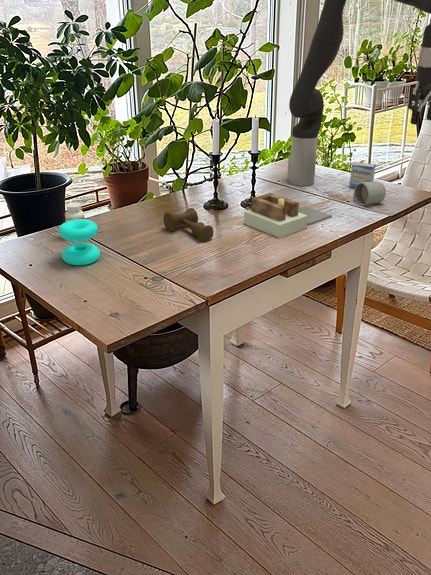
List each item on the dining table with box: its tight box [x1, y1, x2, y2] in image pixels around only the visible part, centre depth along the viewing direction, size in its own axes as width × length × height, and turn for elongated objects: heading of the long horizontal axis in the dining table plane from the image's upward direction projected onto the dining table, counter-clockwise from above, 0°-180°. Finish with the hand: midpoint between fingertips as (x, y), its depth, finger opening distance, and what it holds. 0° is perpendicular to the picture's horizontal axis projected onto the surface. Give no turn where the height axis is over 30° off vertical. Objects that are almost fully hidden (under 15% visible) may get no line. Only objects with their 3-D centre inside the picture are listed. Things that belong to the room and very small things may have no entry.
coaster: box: [298, 206, 332, 226], centre depth 186 cm, size 11×11×1 cm
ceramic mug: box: [352, 180, 387, 207], centre depth 197 cm, size 11×8×8 cm
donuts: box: [58, 219, 101, 266], centre depth 155 cm, size 10×10×10 cm
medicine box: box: [348, 161, 376, 189], centre depth 211 cm, size 8×4×9 cm, turn 68°
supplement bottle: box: [64, 202, 85, 222], centre depth 169 cm, size 5×5×10 cm
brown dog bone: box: [162, 207, 215, 243], centre depth 174 cm, size 6×10×20 cm
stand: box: [243, 198, 308, 239], centre depth 177 cm, size 15×12×9 cm
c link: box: [250, 192, 300, 222], centre depth 177 cm, size 12×8×4 cm, turn 41°
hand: (422, 122), depth 174 cm, fingers open, 8 cm apart
